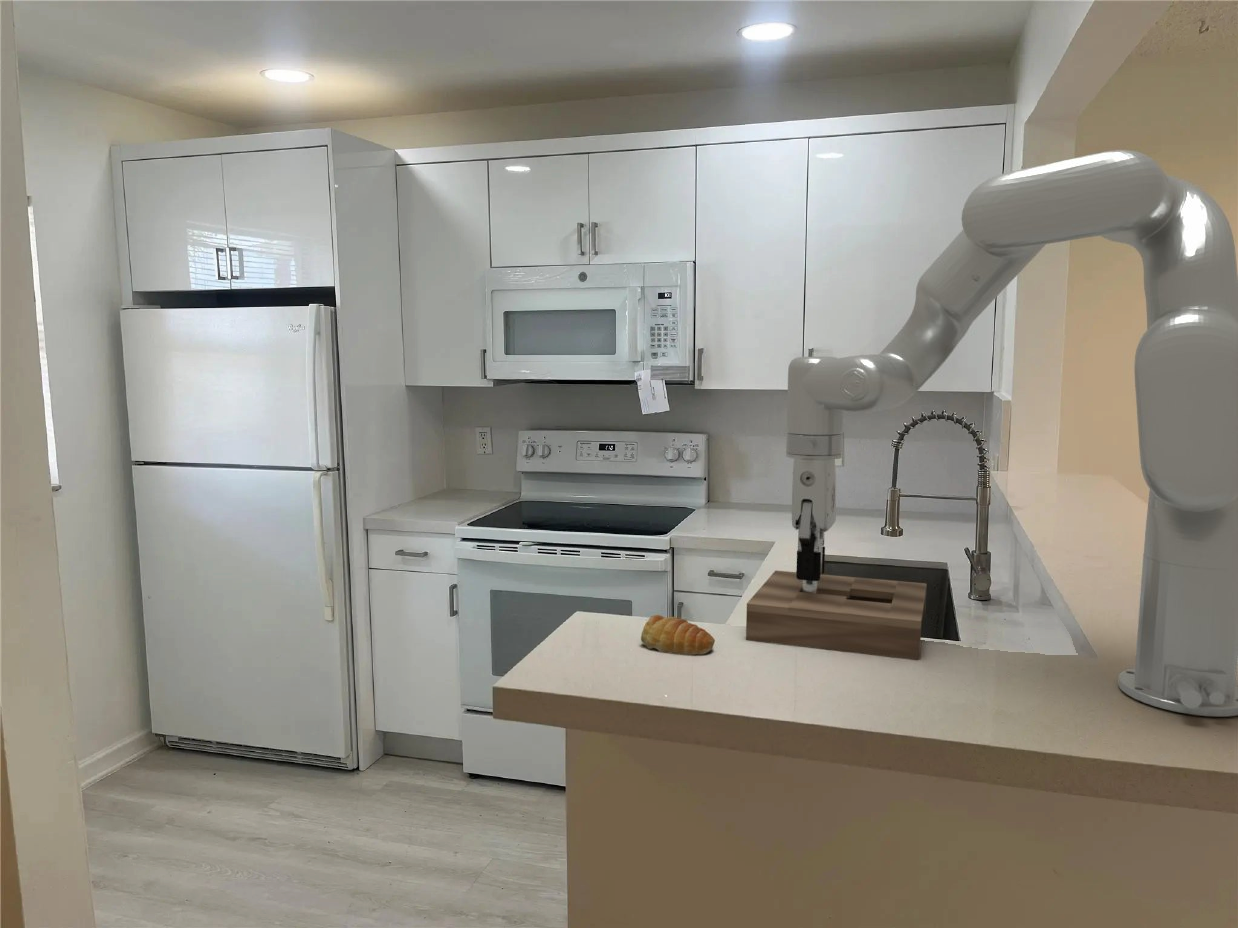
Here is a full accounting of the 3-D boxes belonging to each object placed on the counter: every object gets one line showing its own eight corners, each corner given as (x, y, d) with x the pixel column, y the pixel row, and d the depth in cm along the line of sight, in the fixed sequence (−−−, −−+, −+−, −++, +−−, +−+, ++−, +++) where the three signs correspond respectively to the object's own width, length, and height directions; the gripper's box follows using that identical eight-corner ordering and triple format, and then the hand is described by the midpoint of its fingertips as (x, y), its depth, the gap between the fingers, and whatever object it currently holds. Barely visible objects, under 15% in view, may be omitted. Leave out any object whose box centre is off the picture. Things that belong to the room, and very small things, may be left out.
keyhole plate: (919, 659, 111) (921, 621, 111) (745, 639, 119) (746, 603, 119) (925, 616, 130) (926, 583, 129) (774, 601, 138) (775, 570, 137)
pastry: (723, 647, 117) (723, 619, 116) (699, 662, 111) (700, 633, 111) (661, 635, 122) (661, 608, 121) (635, 649, 116) (635, 621, 116)
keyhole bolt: (822, 624, 123) (824, 542, 122) (790, 620, 125) (792, 540, 123) (827, 615, 127) (829, 536, 126) (796, 612, 129) (797, 534, 127)
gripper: (833, 453, 114) (829, 593, 116) (848, 442, 129) (844, 566, 131) (775, 451, 117) (772, 588, 119) (796, 440, 132) (793, 562, 134)
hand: (810, 575), depth 125 cm, fingers closed on keyhole bolt, 3 cm apart
